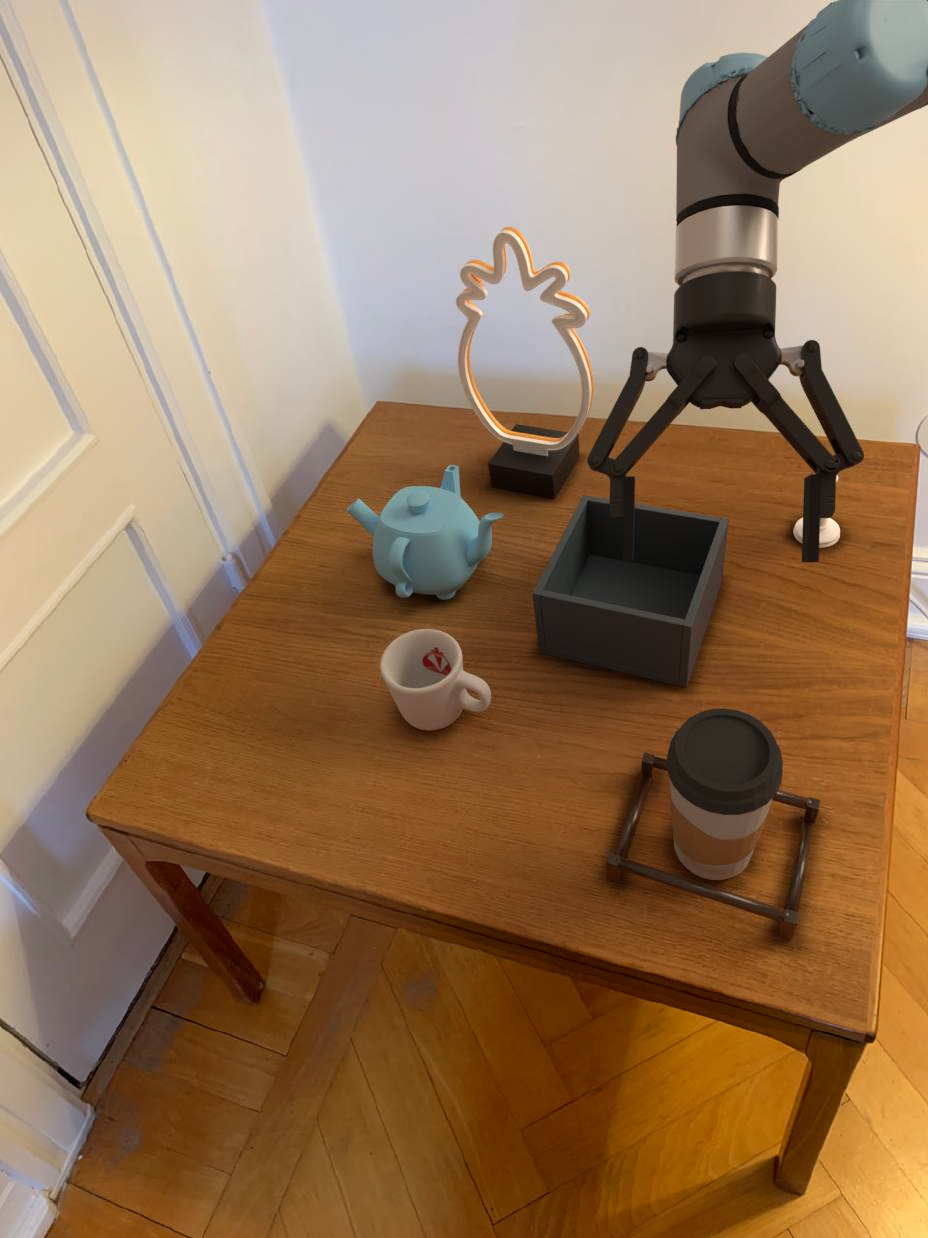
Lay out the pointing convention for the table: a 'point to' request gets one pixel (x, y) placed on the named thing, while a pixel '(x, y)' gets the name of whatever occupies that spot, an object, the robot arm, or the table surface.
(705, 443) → the table surface
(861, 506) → the table surface
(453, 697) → the cup
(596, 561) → the grey open box
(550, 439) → the lamp
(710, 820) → the coffee cup
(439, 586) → the teapot
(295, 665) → the table surface
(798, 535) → the chess piece
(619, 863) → the rectangular rod frame
